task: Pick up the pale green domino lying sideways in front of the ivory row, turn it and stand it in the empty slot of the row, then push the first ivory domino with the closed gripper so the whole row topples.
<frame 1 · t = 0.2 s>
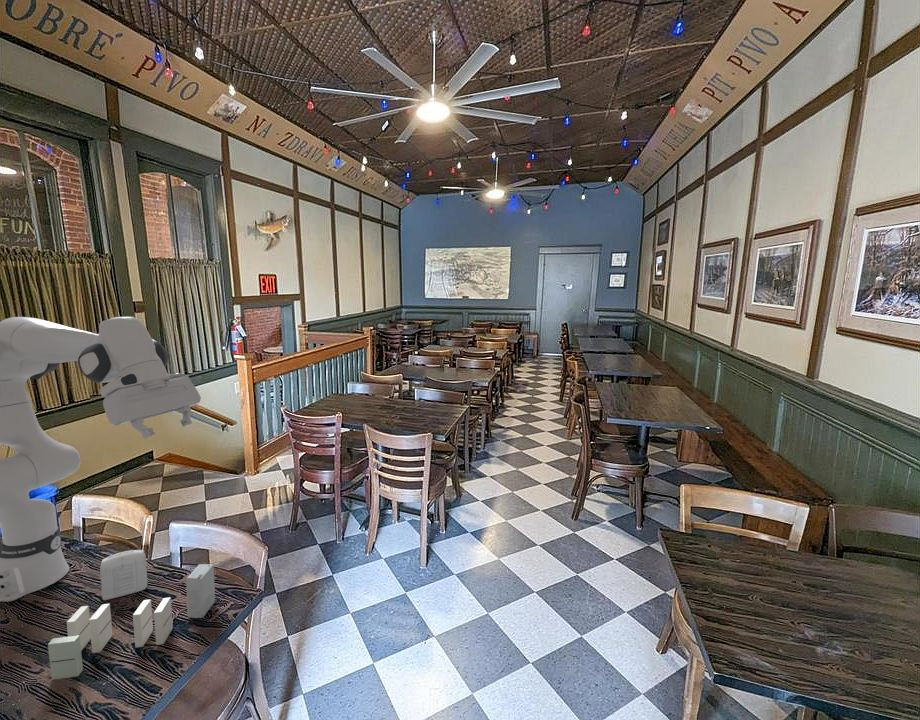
hand: (169, 430, 98), 54 cm above the table, tool tilted 30°, fingers open, 8 cm apart
pale green domino: (67, 674, 92), on the table
domino 5: (164, 636, 103), on the table
skincare box: (202, 611, 112), on the table
domino 1: (81, 646, 99), on the table
domino 4: (144, 638, 102), on the table
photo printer: (125, 592, 118), on the table
domino 2: (102, 644, 100), on the table
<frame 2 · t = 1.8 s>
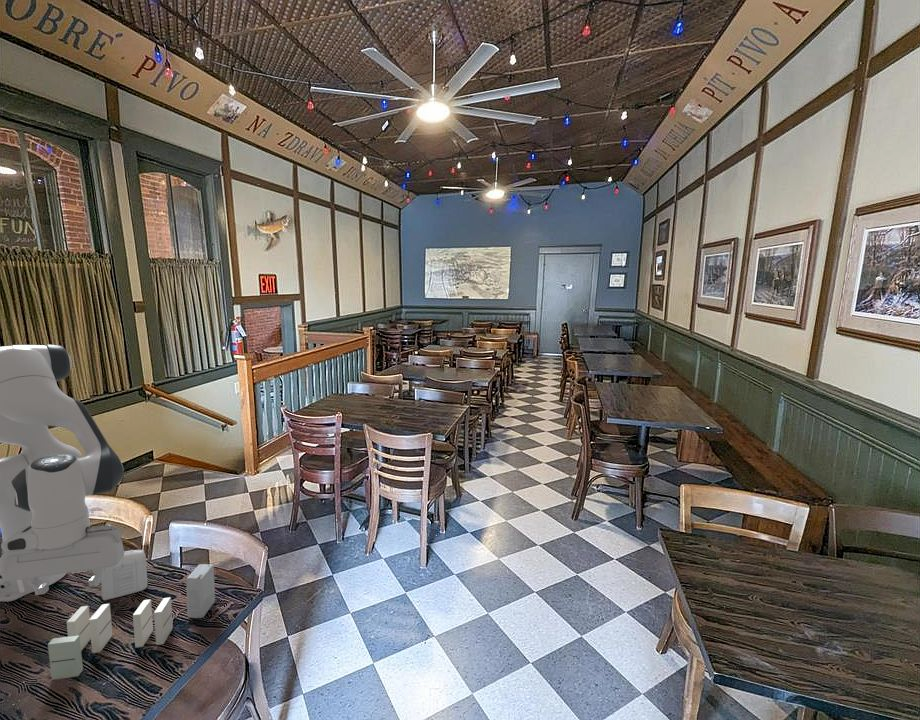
hand: (69, 589, 89), 21 cm above the table, tool pointing down, fingers open, 8 cm apart
nothing on the table moved.
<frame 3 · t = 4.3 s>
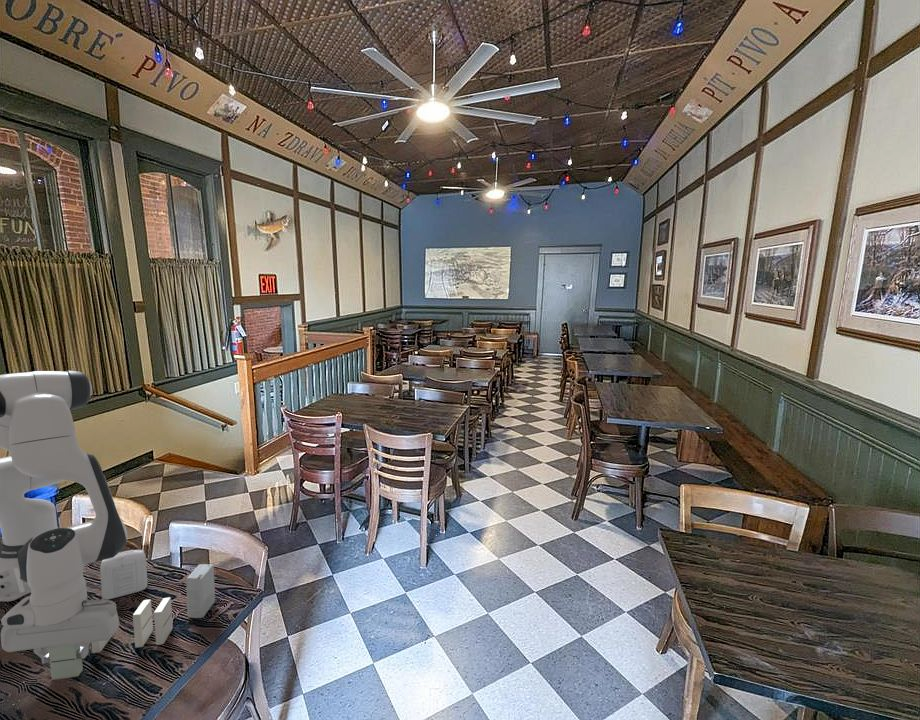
hand: (65, 658, 91), 4 cm above the table, tool pointing down, fingers closed on pale green domino, 5 cm apart
pale green domino: (67, 674, 92), on the table, touching gripper
everything else where it was.
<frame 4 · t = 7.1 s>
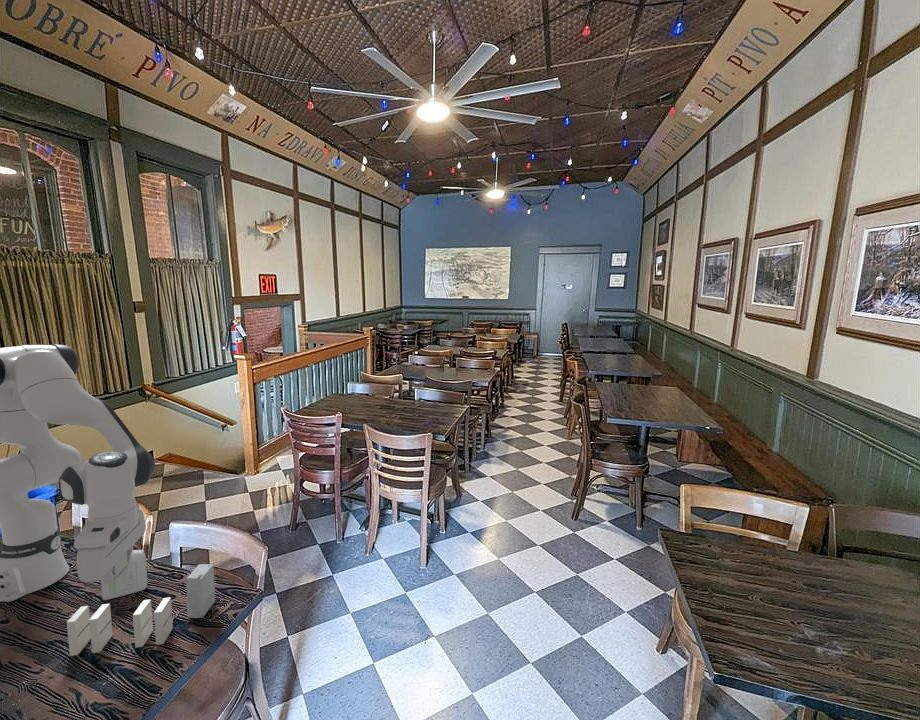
hand: (118, 573, 99), 19 cm above the table, tool pointing down, fingers closed on pale green domino, 5 cm apart
pale green domino: (119, 588, 99), point 15 cm above the table, touching gripper
everything else where it was.
when the fingers open (5 cm above the table, at t = 10.3 s): pale green domino stays where it is, on the table.
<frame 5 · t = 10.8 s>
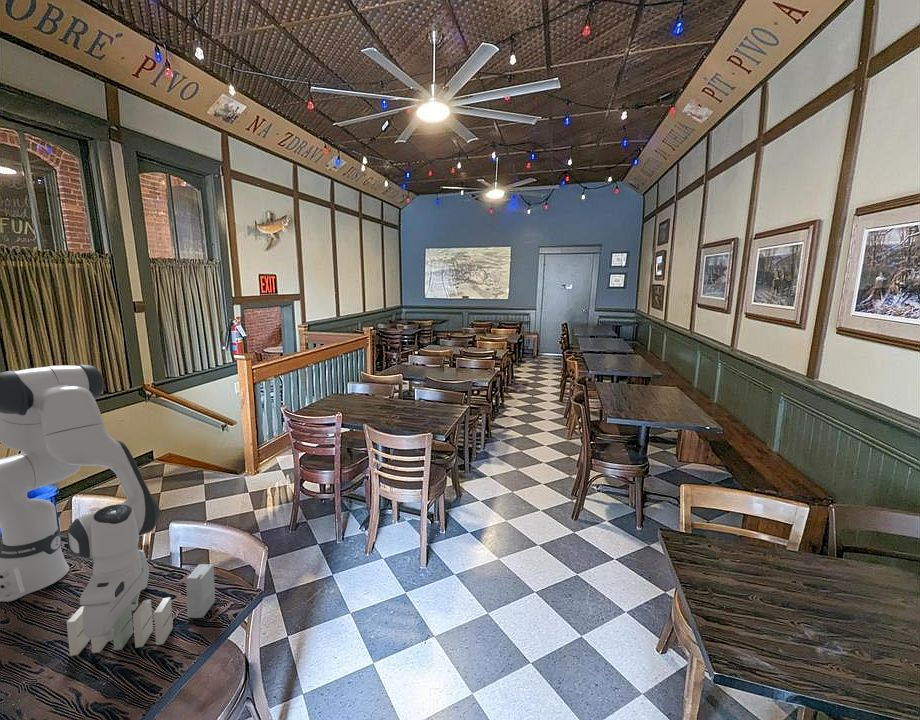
hand: (122, 623, 101), 5 cm above the table, tool pointing down, fingers open, 8 cm apart
pale green domino: (123, 641, 101), on the table
everything else where it was.
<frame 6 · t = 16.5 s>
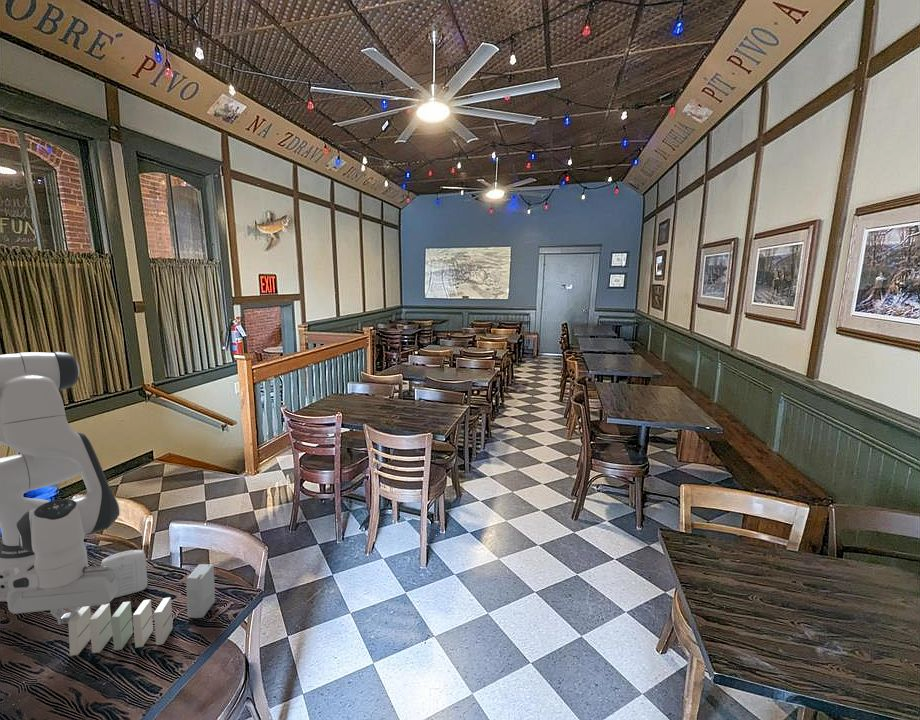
hand: (67, 621, 98), 7 cm above the table, tool pointing down, fingers closed
domino 1: (81, 646, 99), on the table, touching gripper
everything else where it was.
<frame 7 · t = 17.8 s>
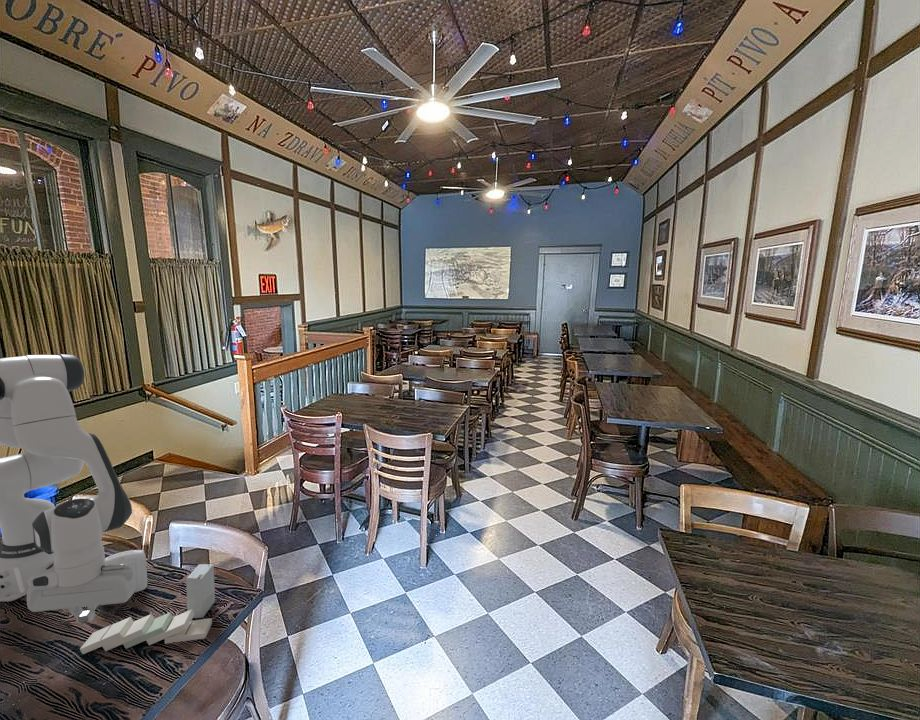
hand: (85, 619, 99), 7 cm above the table, tool pointing down, fingers closed
pale green domino: (129, 638, 102), point 1 cm above the table, tilted 69°, touching domino 2, domino 4
domino 5: (169, 633, 104), point 1 cm above the table, tilted 89°, touching domino 4
domino 1: (88, 643, 99), point 1 cm above the table, tilted 69°, touching domino 2
domino 4: (152, 634, 103), point 1 cm above the table, tilted 69°, touching domino 5, pale green domino
domino 2: (110, 640, 101), point 1 cm above the table, tilted 69°, touching domino 1, pale green domino
everything else where it was.
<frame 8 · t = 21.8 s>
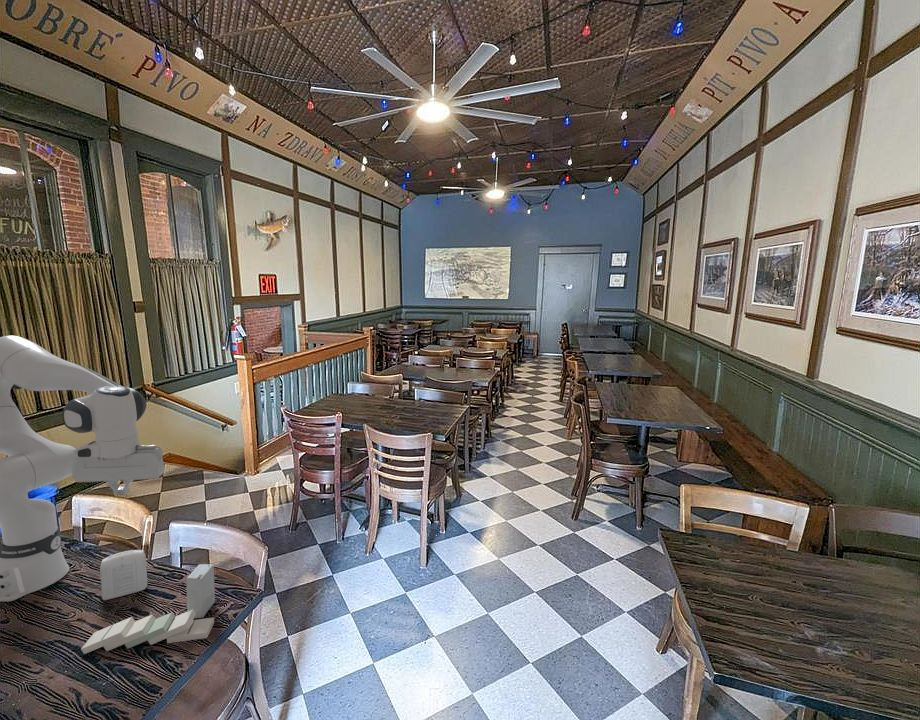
hand: (121, 494, 112), 31 cm above the table, tool pointing down, fingers closed
domino 2: (111, 640, 101), point 1 cm above the table, tilted 69°, touching domino 1, pale green domino
at the end: domino 5 tilted 90°; pale green domino tilted 69°; pale green domino inside the target area (1.3 cm from its centre), point 0.7 cm above the table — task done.
